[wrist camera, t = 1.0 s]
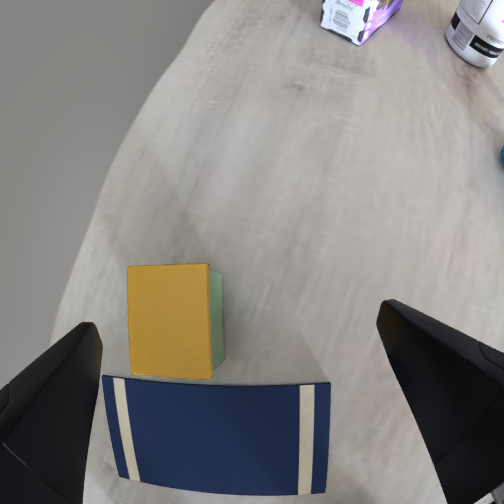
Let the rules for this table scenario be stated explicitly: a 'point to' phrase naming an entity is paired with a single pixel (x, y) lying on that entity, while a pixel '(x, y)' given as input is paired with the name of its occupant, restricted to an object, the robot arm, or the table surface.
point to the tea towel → (220, 436)
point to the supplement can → (478, 31)
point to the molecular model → (502, 155)
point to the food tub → (175, 320)
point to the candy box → (357, 17)
